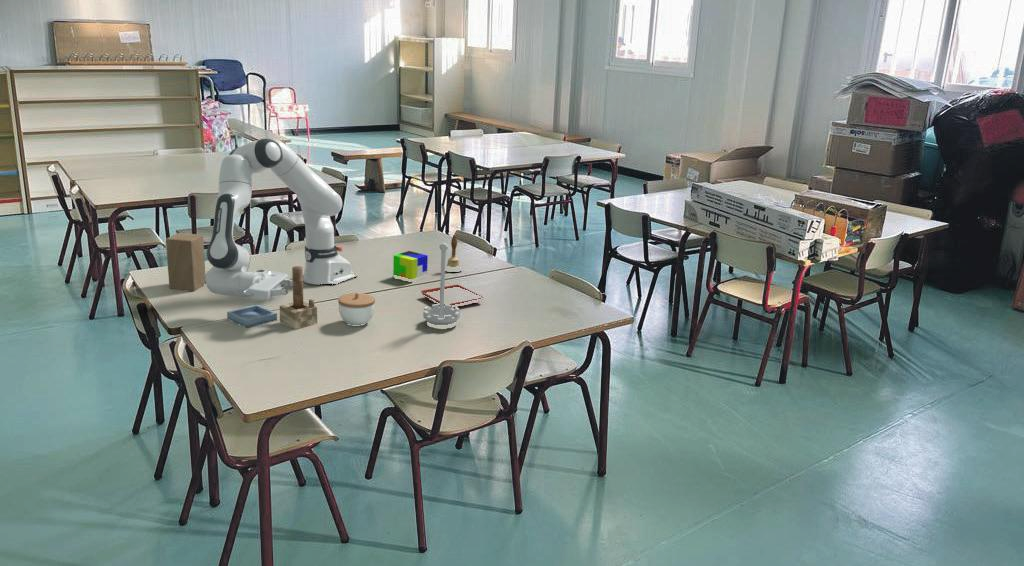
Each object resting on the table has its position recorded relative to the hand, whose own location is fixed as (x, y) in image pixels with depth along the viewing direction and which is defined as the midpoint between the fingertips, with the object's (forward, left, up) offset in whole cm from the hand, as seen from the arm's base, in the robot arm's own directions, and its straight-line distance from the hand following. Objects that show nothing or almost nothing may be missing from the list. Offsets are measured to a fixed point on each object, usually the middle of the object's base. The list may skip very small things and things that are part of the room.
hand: (291, 288), depth 271 cm
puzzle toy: (-66, -12, -13) cm, 69 cm away
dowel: (-1, +2, -11) cm, 11 cm away
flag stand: (-38, +35, -13) cm, 53 cm away
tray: (+9, -11, -13) cm, 19 cm away
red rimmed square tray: (-59, +19, -13) cm, 64 cm away
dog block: (-1, +2, -13) cm, 13 cm away
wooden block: (+8, -57, -13) cm, 59 cm away
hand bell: (-88, -9, -13) cm, 90 cm away
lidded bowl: (-16, +15, -13) cm, 25 cm away
